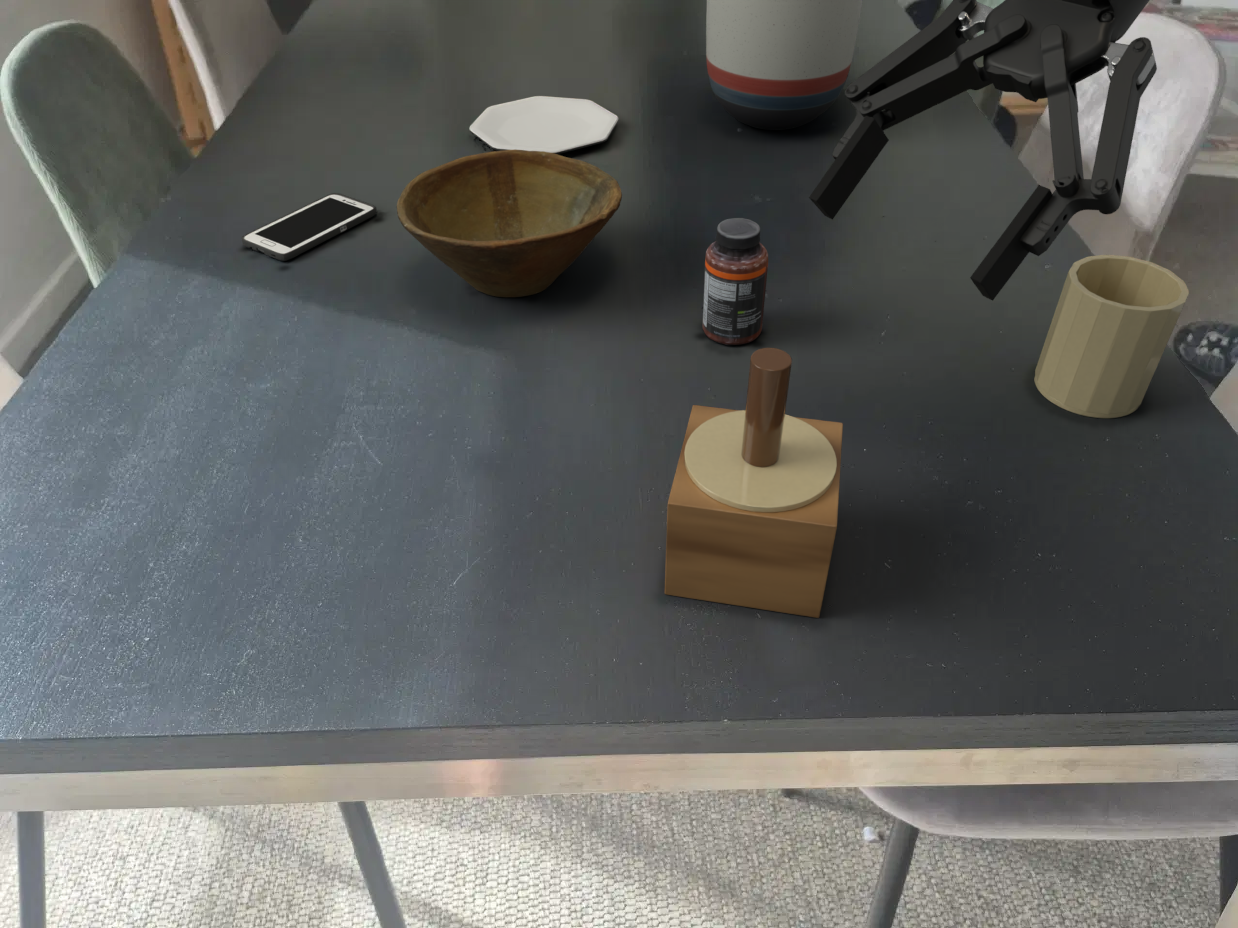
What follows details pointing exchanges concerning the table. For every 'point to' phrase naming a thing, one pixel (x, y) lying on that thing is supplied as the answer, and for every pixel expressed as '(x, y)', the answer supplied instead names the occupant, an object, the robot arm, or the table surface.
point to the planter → (779, 57)
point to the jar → (1108, 334)
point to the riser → (750, 541)
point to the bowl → (509, 216)
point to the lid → (761, 447)
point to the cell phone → (308, 226)
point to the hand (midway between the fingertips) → (895, 247)
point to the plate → (544, 124)
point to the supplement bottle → (735, 283)
